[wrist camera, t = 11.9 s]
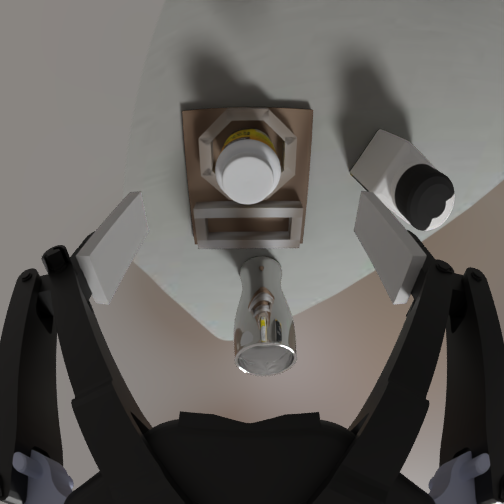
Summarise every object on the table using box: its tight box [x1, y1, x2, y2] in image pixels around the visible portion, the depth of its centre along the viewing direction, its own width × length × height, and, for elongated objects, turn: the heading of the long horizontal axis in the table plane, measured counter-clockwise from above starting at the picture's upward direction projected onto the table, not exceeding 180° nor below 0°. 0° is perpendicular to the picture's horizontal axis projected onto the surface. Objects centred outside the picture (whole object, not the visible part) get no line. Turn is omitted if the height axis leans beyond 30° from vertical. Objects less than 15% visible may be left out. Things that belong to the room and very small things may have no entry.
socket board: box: [182, 107, 313, 249], centre depth 30 cm, size 14×17×3 cm
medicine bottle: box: [350, 129, 455, 231], centre depth 25 cm, size 7×7×12 cm
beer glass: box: [234, 256, 297, 376], centre depth 33 cm, size 7×7×15 cm
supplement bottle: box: [215, 128, 281, 204], centre depth 24 cm, size 6×6×10 cm
